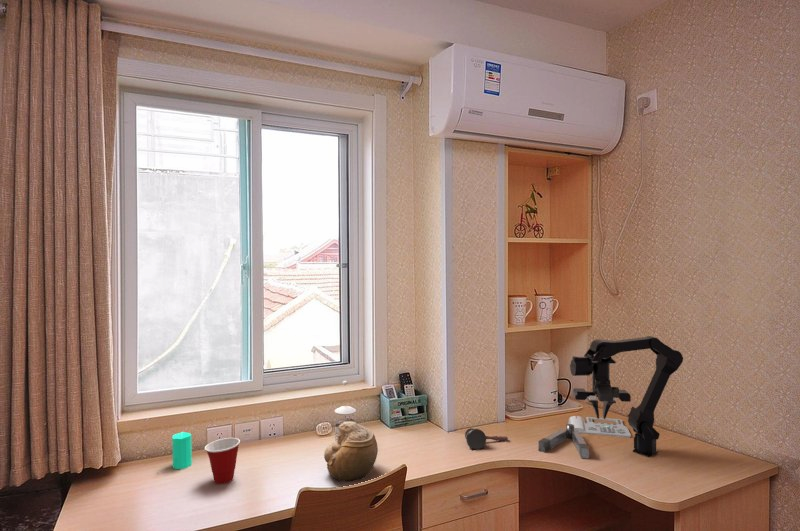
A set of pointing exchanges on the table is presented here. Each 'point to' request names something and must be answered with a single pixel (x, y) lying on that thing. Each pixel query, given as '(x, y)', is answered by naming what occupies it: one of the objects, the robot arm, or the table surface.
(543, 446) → the tongs fixed
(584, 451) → the bar
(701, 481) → the table surface
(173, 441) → the candle
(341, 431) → the buddha statue
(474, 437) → the black mallet
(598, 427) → the office telephone
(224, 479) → the plastic cup
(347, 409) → the french press
